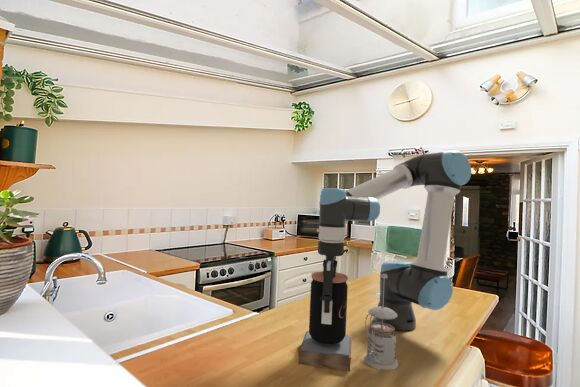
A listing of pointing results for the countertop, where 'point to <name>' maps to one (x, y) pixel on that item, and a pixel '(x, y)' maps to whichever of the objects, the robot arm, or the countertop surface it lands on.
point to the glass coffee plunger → (381, 338)
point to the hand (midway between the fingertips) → (327, 316)
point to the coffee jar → (339, 309)
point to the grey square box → (326, 353)
